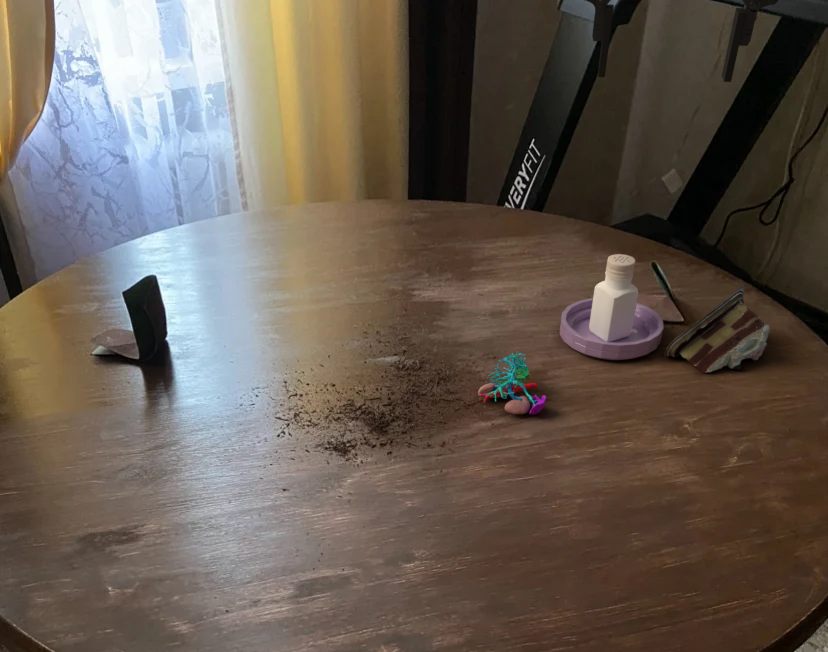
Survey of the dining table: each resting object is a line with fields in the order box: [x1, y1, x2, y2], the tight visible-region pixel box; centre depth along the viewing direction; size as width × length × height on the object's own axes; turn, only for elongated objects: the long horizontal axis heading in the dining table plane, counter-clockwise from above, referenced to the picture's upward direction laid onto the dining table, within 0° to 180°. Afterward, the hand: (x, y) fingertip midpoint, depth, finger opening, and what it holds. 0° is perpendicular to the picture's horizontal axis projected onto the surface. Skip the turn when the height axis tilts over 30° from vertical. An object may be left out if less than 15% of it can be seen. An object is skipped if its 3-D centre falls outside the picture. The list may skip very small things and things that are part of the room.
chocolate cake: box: [664, 284, 771, 374], centre depth 99 cm, size 10×7×12 cm
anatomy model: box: [477, 350, 547, 416], centre depth 91 cm, size 5×8×7 cm
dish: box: [559, 297, 664, 361], centre depth 103 cm, size 12×12×2 cm
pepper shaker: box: [589, 253, 639, 342], centre depth 100 cm, size 4×4×10 cm
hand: (663, 76), depth 94 cm, fingers open, 13 cm apart
